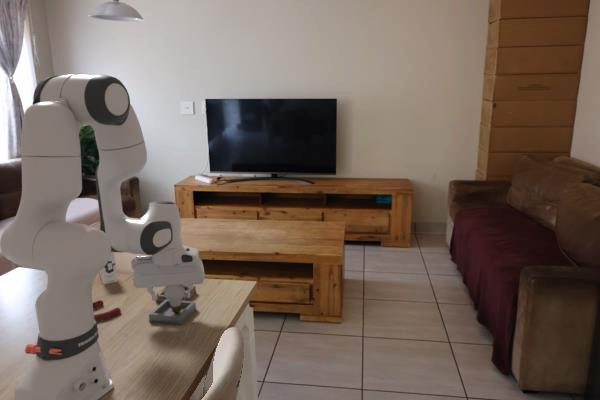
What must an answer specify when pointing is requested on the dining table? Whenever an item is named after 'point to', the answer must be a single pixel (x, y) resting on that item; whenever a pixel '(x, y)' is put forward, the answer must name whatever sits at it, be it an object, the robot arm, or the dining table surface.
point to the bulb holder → (162, 297)
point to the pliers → (105, 315)
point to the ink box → (109, 271)
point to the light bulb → (175, 296)
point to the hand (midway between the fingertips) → (171, 298)
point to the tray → (172, 313)
